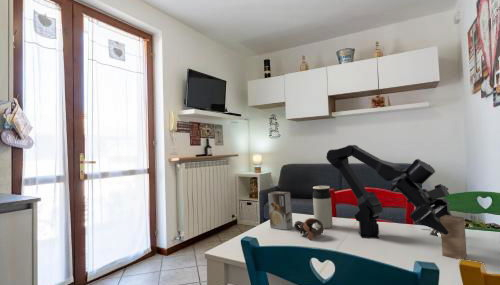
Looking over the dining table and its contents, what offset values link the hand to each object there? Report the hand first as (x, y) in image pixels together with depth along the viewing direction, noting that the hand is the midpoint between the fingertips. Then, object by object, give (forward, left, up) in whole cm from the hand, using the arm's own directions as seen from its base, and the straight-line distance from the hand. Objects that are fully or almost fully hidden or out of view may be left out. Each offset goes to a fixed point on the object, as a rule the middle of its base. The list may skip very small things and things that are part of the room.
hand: (452, 230), depth 88 cm
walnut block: (0, 0, -8) cm, 8 cm away
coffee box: (-58, +29, -8) cm, 65 cm away
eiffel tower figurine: (+5, +21, -9) cm, 23 cm away
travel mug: (-39, +31, -8) cm, 50 cm away
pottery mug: (-45, +17, -8) cm, 49 cm away
